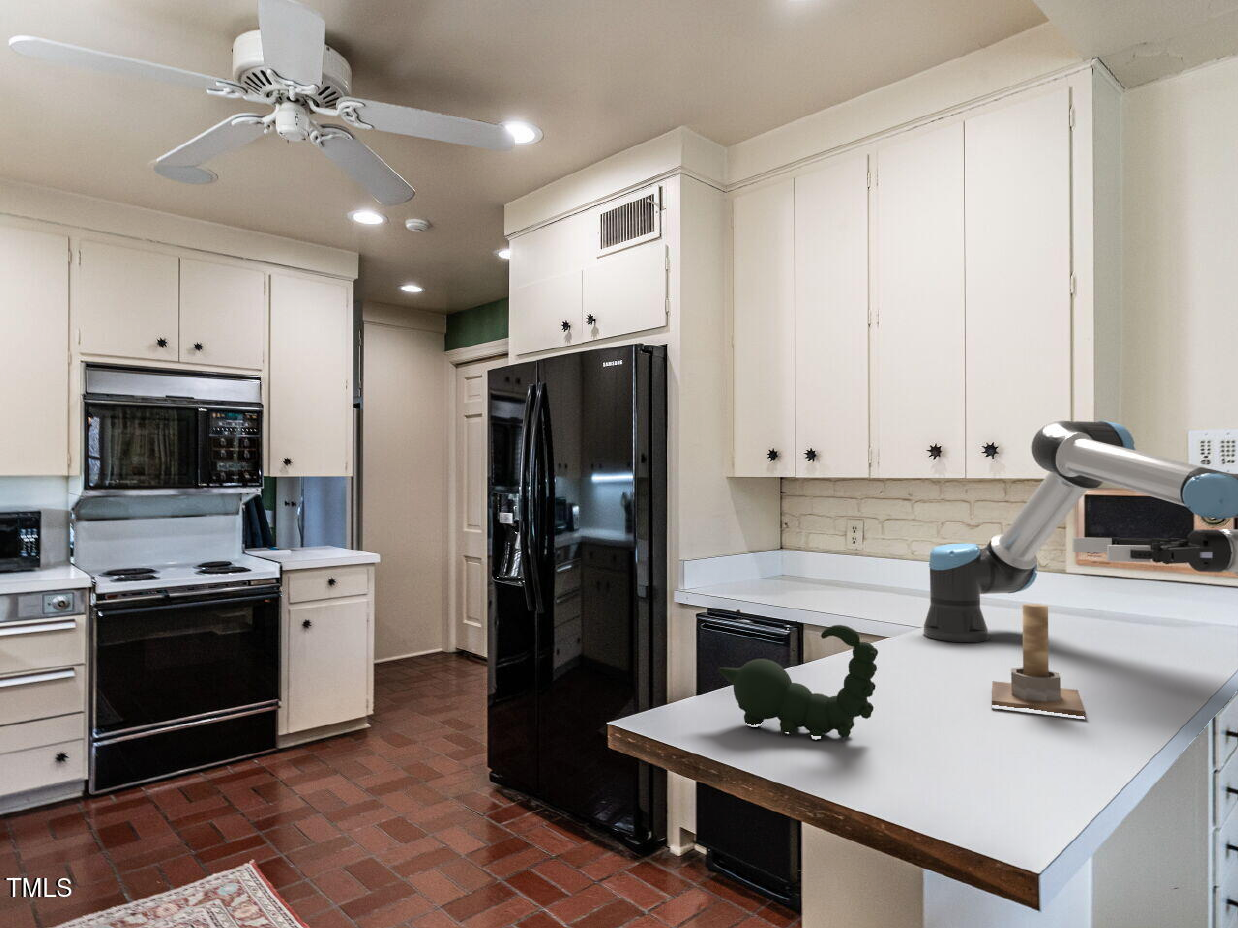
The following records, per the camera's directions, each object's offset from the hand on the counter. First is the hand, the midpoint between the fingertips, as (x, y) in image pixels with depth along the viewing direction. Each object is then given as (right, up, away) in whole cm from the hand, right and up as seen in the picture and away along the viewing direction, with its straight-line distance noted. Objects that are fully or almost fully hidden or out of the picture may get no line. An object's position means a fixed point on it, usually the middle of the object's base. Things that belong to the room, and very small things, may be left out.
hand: (1089, 548), depth 136 cm
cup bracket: (-11, -28, -2) cm, 30 cm away
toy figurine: (-57, -28, -16) cm, 66 cm away
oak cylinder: (-11, -26, -2) cm, 28 cm away
